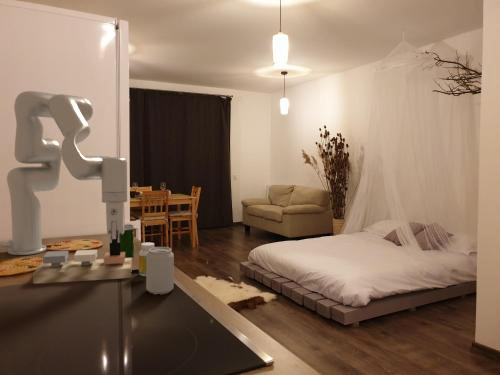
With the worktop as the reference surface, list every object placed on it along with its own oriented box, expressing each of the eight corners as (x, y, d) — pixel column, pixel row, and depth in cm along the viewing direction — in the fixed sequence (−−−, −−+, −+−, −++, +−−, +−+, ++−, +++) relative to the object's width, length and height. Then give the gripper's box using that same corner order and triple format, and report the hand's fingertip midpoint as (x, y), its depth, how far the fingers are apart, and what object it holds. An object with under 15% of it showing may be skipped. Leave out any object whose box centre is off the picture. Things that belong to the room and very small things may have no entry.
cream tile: (74, 267, 120) (74, 255, 119) (77, 261, 125) (77, 250, 125) (95, 266, 121) (95, 254, 121) (97, 260, 127) (97, 249, 127)
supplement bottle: (141, 277, 122) (140, 246, 121) (137, 272, 127) (137, 242, 126) (158, 275, 125) (158, 244, 124) (154, 270, 129) (154, 241, 128)
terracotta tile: (104, 269, 122) (104, 257, 122) (105, 263, 128) (105, 252, 127) (124, 268, 124) (124, 256, 123) (125, 262, 129) (125, 251, 129)
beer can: (121, 261, 138) (120, 227, 137) (116, 257, 143) (116, 225, 142) (136, 259, 141) (136, 226, 140) (131, 255, 146) (131, 223, 145)
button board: (33, 283, 114) (33, 273, 114) (43, 271, 126) (42, 261, 125) (131, 277, 121) (131, 268, 121) (131, 266, 133) (131, 257, 133)
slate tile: (43, 269, 117) (42, 256, 117) (47, 263, 123) (47, 251, 123) (65, 267, 119) (64, 255, 119) (68, 262, 125) (68, 250, 124)
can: (160, 297, 106) (160, 253, 105) (140, 291, 110) (140, 249, 109) (179, 289, 112) (179, 248, 111) (159, 284, 116) (160, 244, 115)
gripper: (126, 199, 117) (126, 260, 119) (127, 194, 132) (128, 248, 133) (99, 200, 115) (100, 261, 117) (103, 194, 130) (104, 249, 131)
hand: (115, 254), depth 125 cm, fingers closed
